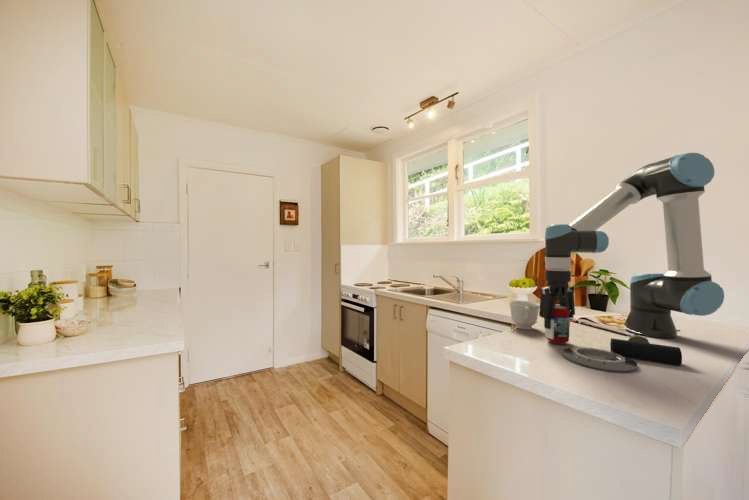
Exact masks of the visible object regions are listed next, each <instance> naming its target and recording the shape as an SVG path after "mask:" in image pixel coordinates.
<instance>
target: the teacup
mask: <svg viewBox="0 0 749 500" xmlns="http://www.w3.org/2000/svg"><path fill="white" fill-rule="evenodd" d="M507 303H508V305H509V308H510V315H511V320H512V322H513V323H514V324H516V325H515V327H516V328H517V329H520V330H521V329H522V330H532V329H533V328H532V326H535V324H537V321H538V315H539V312H540V302H539V303H538V302H534V301H527V300H526V301H525V300H511V301H508V302H507Z"/></svg>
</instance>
